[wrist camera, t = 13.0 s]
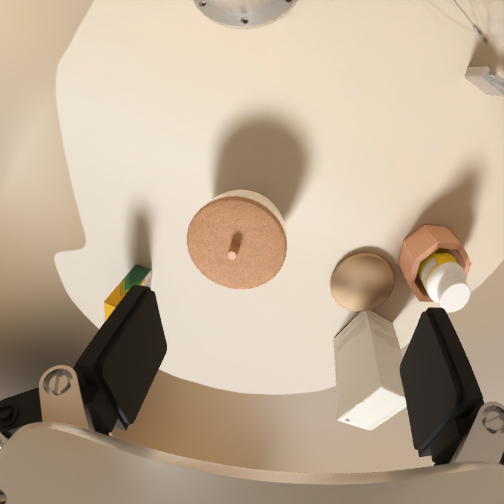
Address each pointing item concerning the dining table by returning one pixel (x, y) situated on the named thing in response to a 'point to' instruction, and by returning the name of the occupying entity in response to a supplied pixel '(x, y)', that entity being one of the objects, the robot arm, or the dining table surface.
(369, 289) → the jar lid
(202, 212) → the lidded jar
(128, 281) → the crayon box
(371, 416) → the skincare box
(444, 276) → the supplement bottle
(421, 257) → the terracotta octagonal planter pot
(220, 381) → the dining table surface
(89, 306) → the dining table surface
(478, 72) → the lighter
